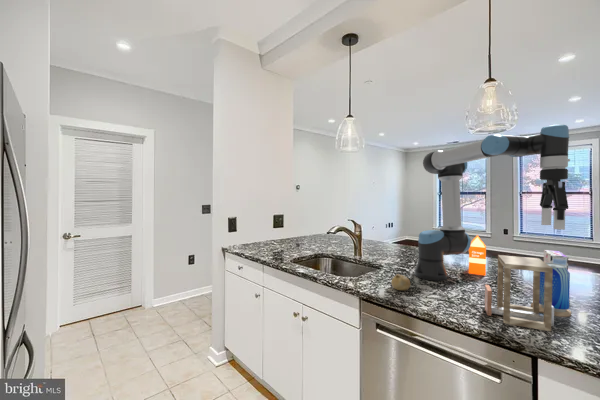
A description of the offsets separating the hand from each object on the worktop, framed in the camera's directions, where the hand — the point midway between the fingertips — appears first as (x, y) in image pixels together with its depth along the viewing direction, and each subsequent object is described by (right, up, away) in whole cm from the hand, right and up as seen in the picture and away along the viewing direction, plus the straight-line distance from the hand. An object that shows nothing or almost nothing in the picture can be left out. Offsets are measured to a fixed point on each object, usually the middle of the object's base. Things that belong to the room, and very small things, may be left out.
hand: (552, 227), depth 101 cm
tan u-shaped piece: (-17, -31, -5) cm, 35 cm away
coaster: (0, -31, +1) cm, 31 cm away
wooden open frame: (-16, -31, -6) cm, 35 cm away
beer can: (+1, -30, +1) cm, 30 cm away
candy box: (+21, -30, +22) cm, 43 cm away
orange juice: (+4, -29, +49) cm, 57 cm away
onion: (-47, -31, +23) cm, 61 cm away
